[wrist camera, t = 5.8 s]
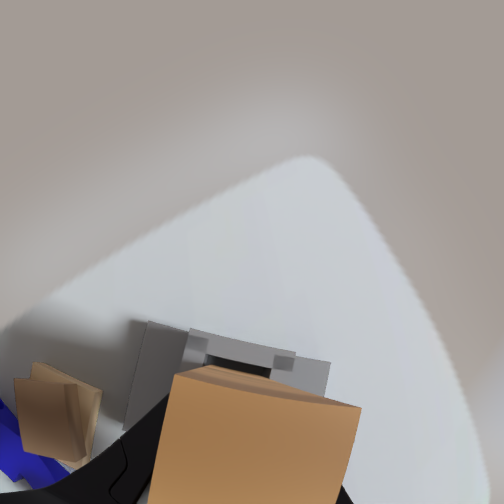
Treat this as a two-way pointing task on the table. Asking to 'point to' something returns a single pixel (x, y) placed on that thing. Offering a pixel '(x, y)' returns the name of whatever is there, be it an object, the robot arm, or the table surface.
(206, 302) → the table surface
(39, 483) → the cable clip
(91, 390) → the lower offcut
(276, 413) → the tall strip
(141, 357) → the rack
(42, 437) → the upper offcut
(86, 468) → the robot arm
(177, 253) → the table surface
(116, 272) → the table surface
